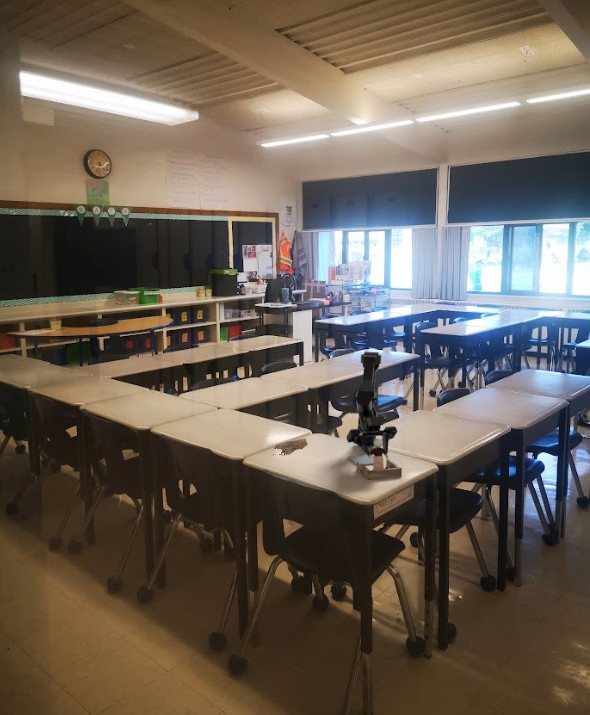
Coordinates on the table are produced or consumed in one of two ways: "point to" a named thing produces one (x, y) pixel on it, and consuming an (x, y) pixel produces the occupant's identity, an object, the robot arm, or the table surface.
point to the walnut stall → (380, 471)
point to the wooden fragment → (291, 446)
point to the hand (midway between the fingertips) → (377, 454)
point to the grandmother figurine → (378, 455)
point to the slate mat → (362, 459)
